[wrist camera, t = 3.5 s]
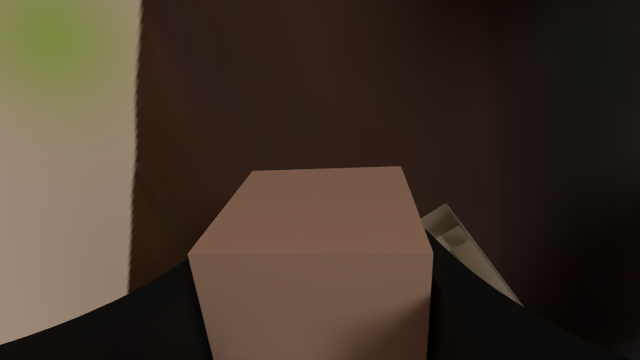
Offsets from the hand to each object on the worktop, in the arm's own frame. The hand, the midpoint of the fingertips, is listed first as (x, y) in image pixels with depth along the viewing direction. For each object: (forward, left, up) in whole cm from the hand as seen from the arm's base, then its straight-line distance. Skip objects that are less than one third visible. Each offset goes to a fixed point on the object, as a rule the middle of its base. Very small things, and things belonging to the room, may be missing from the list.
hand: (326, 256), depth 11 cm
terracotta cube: (0, 0, -1) cm, 1 cm away
